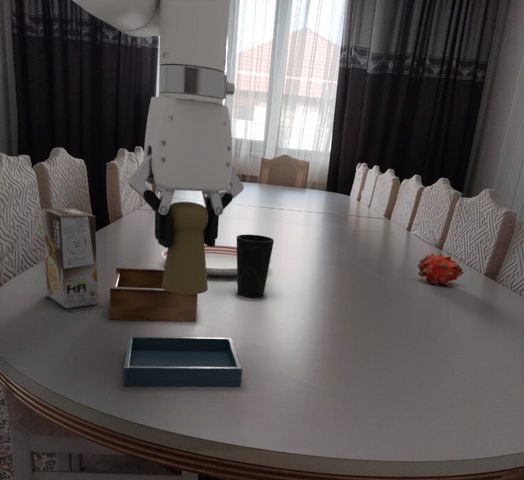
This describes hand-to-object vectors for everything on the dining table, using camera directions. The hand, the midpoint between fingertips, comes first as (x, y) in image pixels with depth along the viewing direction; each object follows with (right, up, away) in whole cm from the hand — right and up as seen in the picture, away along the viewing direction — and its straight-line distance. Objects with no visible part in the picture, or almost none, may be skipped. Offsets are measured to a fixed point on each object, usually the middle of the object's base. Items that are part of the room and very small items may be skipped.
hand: (186, 243), depth 66 cm
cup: (+7, -2, +44) cm, 45 cm away
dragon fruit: (+56, +4, +70) cm, 90 cm away
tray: (-2, -16, +7) cm, 18 cm away
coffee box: (-26, -5, +30) cm, 40 cm away
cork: (-1, -6, +2) cm, 6 cm away
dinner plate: (-2, +7, +64) cm, 64 cm away
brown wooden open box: (-10, -6, +30) cm, 32 cm away
